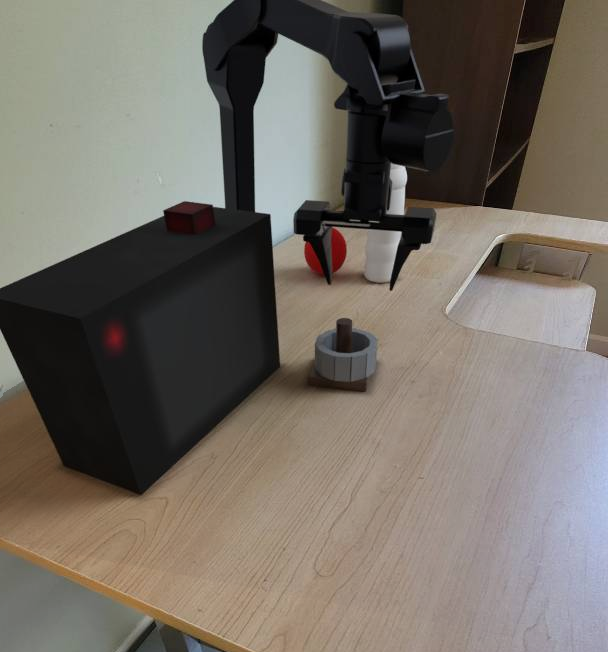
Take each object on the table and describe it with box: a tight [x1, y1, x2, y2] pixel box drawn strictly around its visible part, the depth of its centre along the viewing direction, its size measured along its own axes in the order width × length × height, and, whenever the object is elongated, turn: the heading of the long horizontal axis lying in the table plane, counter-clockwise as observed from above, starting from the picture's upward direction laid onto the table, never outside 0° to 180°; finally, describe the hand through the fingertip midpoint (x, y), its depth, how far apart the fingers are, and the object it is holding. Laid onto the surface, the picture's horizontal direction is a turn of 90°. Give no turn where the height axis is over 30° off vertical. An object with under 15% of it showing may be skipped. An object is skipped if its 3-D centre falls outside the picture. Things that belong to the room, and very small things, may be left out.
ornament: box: [303, 227, 348, 276], centre depth 108 cm, size 9×9×10 cm
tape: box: [314, 327, 379, 382], centre depth 80 cm, size 9×9×4 cm
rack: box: [308, 317, 372, 392], centre depth 79 cm, size 9×9×8 cm
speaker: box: [0, 200, 281, 496], centre depth 68 cm, size 15×35×24 cm, turn 152°
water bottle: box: [363, 163, 408, 284], centre depth 100 cm, size 7×7×25 cm
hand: (360, 286), depth 76 cm, fingers open, 9 cm apart
